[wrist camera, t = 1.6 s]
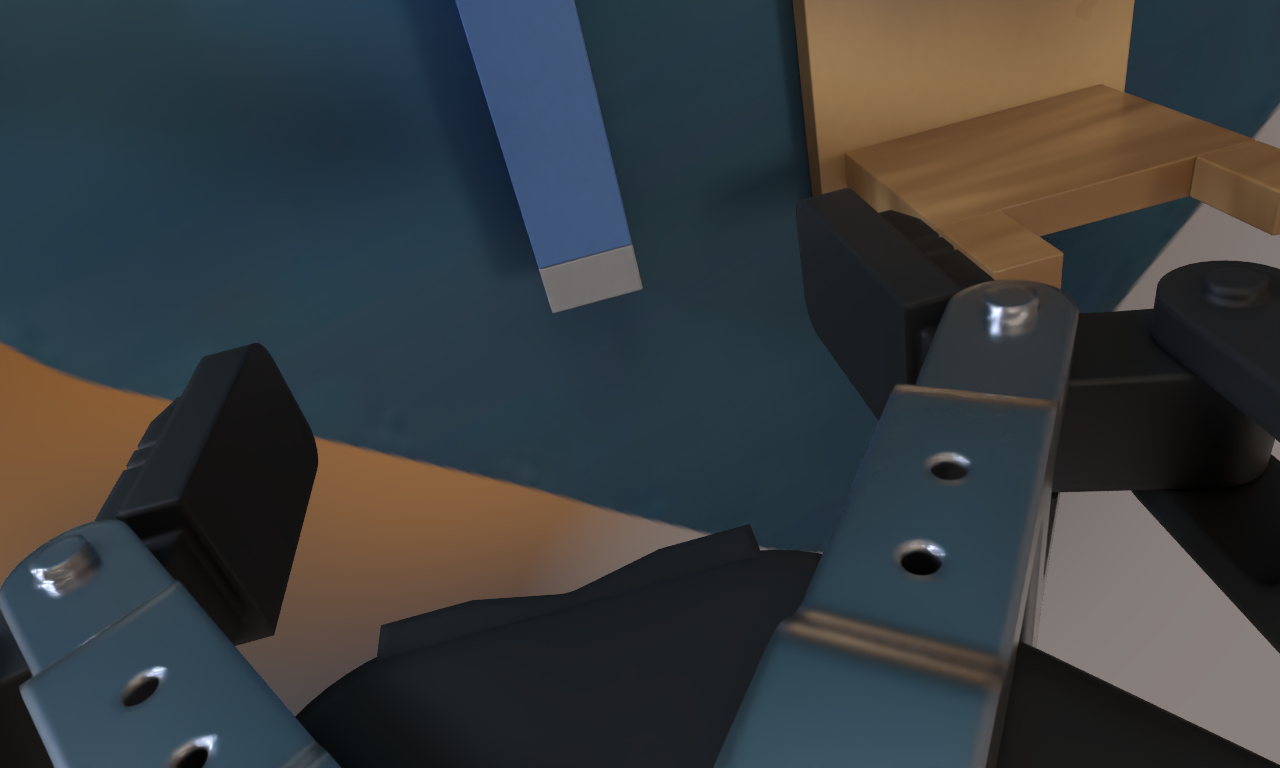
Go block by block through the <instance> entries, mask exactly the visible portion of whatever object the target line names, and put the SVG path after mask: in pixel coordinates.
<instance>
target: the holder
mask: <svg viewBox="0 0 1280 768" xmlns="http://www.w3.org/2000/svg"><path fill="white" fill-rule="evenodd" d="M1134 1H1135V0H793V10H794V20H795V30H796V40H797V50H798V60H799V70H800V80H801V90H802V100H803V110H804V119H805V129H806V139H807V149H808V159H809V169H810V179H811V189H812V197H813V196H817V195H821V194H825V193H828V192H832V191H836V190H840V189H843V188H847V187H848V188H851V189H852V190H853V191H854V192H855V193H857V194H858V195H859V196H860V197H861V198H862V199H863V200H864V201H866V202H867V203H868V204H869V205H870V206H871V207H872V208H873V209H875V210H876V211H877V212H878V213H880V212H883V211H887V210H894V211H897V212H900V213H903V214H906V215H909V216H913V217H916V218H919V219H921V220H922V221H923V222H925V223H926V224H927V225H928V226H930V227H931V228H932V229H933V230H934V231H936V232H937V233H938V234H939V237H943V238H944V239H945V240H947V241H948V242H949V243H950V244H952V245H953V246H954V250H956V249H958V250H959V251H960V252H961V253H963V254H964V255H965V256H966V257H968V258H969V259H970V260H971V261H972V262H974V263H975V264H976V265H977V266H979V267H980V268H981V269H982V270H983V271H985V272H986V273H987V274H988V275H990V276H991V277H992V278H993V279H994V280H1007V279H1018V280H1030V281H1036V282H1041V283H1045V284H1048V285H1052V286H1054V287H1057V288H1059V289H1061V278H1062V265H1063V252H1061V251H1060V250H1058V249H1057V248H1055V247H1054V246H1052V245H1051V244H1049V243H1048V242H1046V241H1045V240H1043V239H1042V238H1040V236H1044V235H1047V234H1051V233H1055V232H1058V231H1062V230H1066V229H1069V228H1073V227H1077V226H1080V225H1084V224H1088V223H1091V222H1095V221H1099V220H1102V219H1106V218H1110V217H1113V216H1117V215H1121V214H1124V213H1128V212H1132V211H1135V210H1139V209H1143V208H1146V207H1150V206H1154V205H1157V204H1161V203H1165V202H1169V201H1172V200H1176V199H1180V198H1183V197H1187V196H1191V197H1192V198H1194V199H1197V200H1199V201H1201V202H1203V203H1205V204H1208V205H1210V206H1211V207H1214V208H1216V209H1218V210H1220V211H1222V212H1224V213H1226V214H1228V215H1231V216H1233V217H1235V218H1237V219H1239V220H1241V221H1243V222H1245V223H1248V224H1250V225H1252V226H1254V227H1256V228H1258V229H1260V230H1262V231H1264V232H1267V233H1269V234H1271V235H1278V234H1280V149H1279V148H1276V147H1273V146H1270V145H1268V144H1265V143H1262V142H1259V141H1256V140H1255V139H1253V138H1250V137H1247V136H1244V135H1242V134H1239V133H1236V132H1233V131H1230V130H1228V129H1225V128H1222V127H1219V126H1217V125H1214V124H1211V123H1208V122H1205V121H1203V120H1200V119H1197V118H1194V117H1192V116H1189V115H1186V114H1183V113H1180V112H1178V111H1175V110H1172V109H1169V108H1167V107H1164V106H1161V105H1158V104H1155V103H1153V102H1150V101H1147V100H1144V99H1142V98H1139V97H1136V96H1133V95H1130V94H1128V93H1125V92H1124V89H1125V81H1126V72H1127V63H1128V54H1129V45H1130V36H1131V28H1132V19H1133V10H1134Z"/></svg>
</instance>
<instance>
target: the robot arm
mask: <svg viewBox="0 0 1280 768" xmlns="http://www.w3.org/2000/svg"><path fill="white" fill-rule="evenodd" d="M796 220H797V230H798V239H799V248H800V258H801V267H802V276H803V286H804V294H805V301H806V306H807V310H808V314H809V317H810V320H811V323H812V325H813V327H814V330H815V331H816V333H817V335H818V336H819V338H820V339H821V341H822V342H823V343H824V345H825V346H826V348H827V349H828V350H829V352H830V353H831V355H832V356H833V357H834V359H835V360H836V362H837V363H838V364H839V366H840V367H841V369H842V370H843V371H844V373H845V374H846V376H847V377H848V378H849V380H850V381H851V383H852V384H853V385H854V387H855V388H856V390H857V391H858V392H859V394H860V395H861V397H862V398H863V399H864V401H865V402H866V404H867V405H868V406H869V408H870V409H871V411H872V412H873V413H874V415H875V416H876V418H877V419H878V420H879V422H878V425H877V427H876V429H875V432H874V434H873V436H872V439H871V441H870V443H869V446H868V448H867V450H866V453H865V455H864V458H863V460H862V462H861V465H860V467H859V469H858V472H857V474H856V476H855V479H854V481H853V483H852V486H851V488H850V490H849V493H848V495H847V498H846V500H845V502H844V505H843V507H842V509H841V512H840V514H839V516H838V519H837V521H836V523H835V526H834V528H833V531H832V533H831V535H830V538H829V540H828V542H827V545H826V547H825V549H824V552H823V554H819V553H812V552H804V551H797V550H762V551H760V549H759V546H758V544H757V541H756V539H755V537H754V534H753V532H752V529H751V527H750V524H749V525H745V526H741V527H738V528H734V529H730V530H727V531H723V532H719V533H716V534H712V535H708V536H705V537H701V538H698V539H694V540H690V541H687V542H683V543H680V544H676V545H672V546H668V547H665V548H662V549H658V550H656V551H655V552H652V553H650V554H648V555H646V556H644V557H642V558H640V559H638V560H637V561H634V562H632V563H630V564H628V565H626V566H624V567H622V568H620V569H618V570H616V571H614V572H612V573H610V574H608V575H606V576H604V577H602V578H600V579H598V580H596V581H593V582H591V583H589V584H587V585H585V586H583V587H581V588H579V589H577V590H575V591H572V592H569V593H565V594H557V595H543V596H528V597H514V598H499V599H484V600H472V601H468V602H465V603H461V604H458V605H453V606H450V607H446V608H443V609H439V610H435V611H432V612H428V613H424V614H421V615H417V616H413V617H410V618H406V619H403V620H399V621H395V622H392V623H388V624H385V625H381V629H380V637H379V645H378V653H377V657H376V658H374V659H372V660H370V661H368V662H366V663H364V664H363V665H361V666H359V667H358V668H356V669H355V670H353V671H351V672H350V673H348V674H346V675H345V676H344V677H342V678H341V679H339V680H338V681H336V682H335V683H334V684H332V685H331V686H330V687H328V688H327V689H326V690H324V691H323V692H322V693H321V694H320V695H318V696H317V697H316V698H315V699H314V700H312V701H311V702H310V703H309V704H308V705H307V706H306V707H305V708H304V709H303V710H302V711H301V712H299V714H298V715H297V716H294V715H293V714H292V713H291V712H290V711H289V709H288V708H287V707H286V706H285V705H284V704H283V702H282V701H281V700H280V699H279V698H278V696H277V695H276V694H275V693H274V692H273V691H272V689H271V688H270V687H269V686H268V685H267V683H266V682H265V681H264V680H263V679H262V678H261V676H260V675H259V674H258V673H257V672H256V671H255V669H254V668H253V667H252V666H251V665H250V664H249V662H248V661H247V660H246V659H245V658H244V657H243V655H242V654H241V653H240V652H239V651H238V649H237V648H236V647H235V646H236V645H240V644H244V643H247V642H251V641H254V640H258V639H262V638H266V637H269V636H273V635H274V633H275V629H276V625H277V621H278V618H279V614H280V610H281V606H282V602H283V599H284V595H285V591H286V587H287V583H288V579H289V575H290V572H291V568H292V564H293V560H294V556H295V552H296V549H297V545H298V541H299V537H300V533H301V529H302V525H303V522H304V518H305V514H306V509H307V506H308V502H309V499H310V494H311V491H312V487H313V483H314V479H315V475H316V472H317V467H318V453H317V447H316V443H315V439H314V436H313V433H312V431H311V428H310V426H309V424H308V422H307V421H306V419H305V417H304V415H303V413H302V411H301V410H300V408H299V406H298V404H297V402H296V400H295V399H294V397H293V395H292V393H291V391H290V389H289V387H288V386H287V384H286V382H285V380H284V378H283V376H282V375H281V373H280V371H279V369H278V367H277V365H276V363H275V362H274V360H273V358H272V356H271V355H270V353H269V352H268V351H267V350H266V348H265V347H263V346H262V345H261V344H259V343H253V344H250V345H246V346H242V347H238V348H234V349H231V350H227V351H223V352H219V353H215V354H212V355H208V356H205V357H203V358H202V359H201V361H200V363H199V364H198V366H197V368H196V370H195V372H194V374H193V375H192V377H191V379H190V381H189V383H188V385H187V386H186V388H185V390H184V392H183V394H182V395H181V397H179V398H177V399H176V400H174V401H173V402H172V403H171V404H170V405H169V406H168V407H167V408H166V409H165V410H164V411H163V412H162V413H161V414H159V415H158V416H157V417H156V418H155V419H154V420H153V421H152V422H151V423H150V425H149V427H148V429H147V430H146V432H145V434H144V436H143V437H142V439H141V441H140V443H139V444H138V448H139V450H136V451H134V453H133V455H132V456H131V458H130V460H129V462H128V464H127V465H126V466H127V470H124V471H123V472H122V474H121V476H120V477H119V479H118V481H117V483H116V484H115V486H114V488H113V489H112V491H111V493H110V495H109V497H108V498H107V500H106V502H105V503H104V505H103V507H102V509H101V511H100V512H99V514H98V516H97V517H96V519H95V521H94V522H90V523H87V524H84V525H81V526H78V527H76V528H73V529H71V530H69V531H66V532H64V533H62V534H60V535H59V536H57V537H55V538H53V539H51V540H50V541H48V542H47V543H45V544H43V545H42V546H40V547H39V548H38V549H36V550H35V551H34V552H32V553H31V554H30V555H28V556H27V557H26V558H25V559H24V560H23V561H21V562H20V563H19V564H18V565H17V566H16V568H15V569H14V570H13V571H12V572H11V573H10V574H9V576H8V577H7V578H6V580H5V582H4V583H3V585H2V586H1V588H0V768H1280V765H1279V764H1276V763H1275V762H1273V761H1270V760H1268V759H1266V758H1264V757H1262V756H1260V755H1258V754H1256V753H1253V752H1252V751H1250V750H1247V749H1245V748H1243V747H1241V746H1239V745H1237V744H1235V743H1233V742H1231V741H1229V740H1226V739H1224V738H1222V737H1220V736H1218V735H1216V734H1214V733H1212V732H1210V731H1208V730H1206V729H1204V728H1202V727H1199V726H1197V725H1195V724H1193V723H1191V722H1189V721H1187V720H1185V719H1183V718H1181V717H1179V716H1177V715H1174V714H1172V713H1170V712H1168V711H1166V710H1164V709H1161V708H1160V707H1158V706H1156V705H1154V704H1151V703H1149V702H1147V701H1145V700H1143V699H1141V698H1139V697H1137V696H1135V695H1132V694H1131V693H1129V692H1126V691H1124V690H1122V689H1120V688H1118V687H1116V686H1114V685H1112V684H1110V683H1108V682H1106V681H1103V680H1101V679H1099V678H1097V677H1095V676H1093V675H1091V674H1089V673H1087V672H1085V671H1083V670H1080V669H1078V668H1076V667H1074V666H1072V665H1070V664H1068V663H1066V662H1064V661H1062V660H1060V659H1058V658H1056V657H1054V656H1051V655H1049V654H1047V653H1045V652H1043V651H1041V650H1039V649H1037V648H1036V646H1037V638H1038V629H1039V622H1040V615H1041V608H1042V601H1043V595H1044V589H1045V583H1046V577H1047V571H1048V565H1049V559H1050V553H1051V547H1052V541H1053V535H1054V529H1055V523H1056V517H1057V511H1058V504H1059V498H1060V492H1082V491H1083V492H1084V491H1120V490H1121V491H1122V490H1131V491H1132V492H1133V494H1134V495H1135V496H1136V497H1137V499H1138V500H1139V501H1140V502H1141V503H1142V504H1143V505H1144V506H1145V507H1146V508H1147V509H1148V511H1149V512H1150V513H1151V514H1152V515H1153V516H1154V517H1155V518H1156V519H1157V520H1158V521H1159V523H1160V524H1161V525H1162V526H1163V527H1164V528H1165V529H1166V530H1167V531H1168V532H1169V533H1170V535H1171V536H1172V537H1173V538H1174V539H1175V540H1176V541H1177V542H1178V543H1179V544H1180V545H1181V547H1182V548H1183V549H1184V550H1185V551H1186V552H1187V553H1188V554H1189V555H1190V556H1191V557H1192V559H1193V560H1194V561H1195V562H1196V563H1197V564H1198V565H1199V566H1200V567H1201V568H1202V569H1203V571H1204V572H1205V573H1206V574H1207V575H1208V576H1209V577H1210V578H1211V579H1212V580H1213V581H1214V583H1215V584H1216V585H1217V586H1218V587H1219V588H1220V589H1221V590H1222V591H1223V592H1224V593H1225V594H1226V596H1227V597H1229V599H1230V600H1231V601H1232V602H1233V603H1234V604H1235V605H1236V606H1237V608H1238V609H1239V610H1240V611H1241V612H1242V613H1243V614H1244V615H1245V616H1246V617H1247V618H1248V620H1249V621H1250V622H1251V623H1252V624H1253V625H1254V626H1255V627H1256V628H1257V629H1258V631H1260V633H1261V634H1262V635H1263V636H1264V637H1265V638H1266V639H1267V640H1268V641H1269V642H1270V643H1271V645H1272V646H1273V647H1274V648H1275V649H1276V650H1277V651H1278V652H1279V653H1280V461H1279V460H1278V459H1276V458H1275V457H1274V456H1273V455H1271V452H1272V448H1273V444H1274V441H1275V439H1276V440H1278V441H1279V442H1280V269H1278V268H1274V267H1270V266H1266V265H1262V264H1257V263H1250V262H1242V261H1208V262H1199V263H1194V264H1189V265H1186V266H1183V267H1179V268H1177V269H1174V270H1172V271H1171V272H1169V273H1167V274H1166V275H1164V276H1163V277H1162V278H1161V279H1160V281H1159V283H1158V285H1157V291H1156V297H1155V303H1154V309H1145V310H1131V311H1117V312H1104V313H1079V308H1078V305H1077V303H1076V301H1075V300H1074V299H1073V297H1071V296H1070V295H1069V294H1068V293H1066V292H1065V291H1063V290H1061V289H1059V288H1057V287H1054V286H1052V285H1048V284H1045V283H1041V282H1036V281H1030V280H1018V279H1007V280H994V279H993V278H992V277H991V276H990V275H988V274H987V273H986V272H985V271H983V270H982V269H981V268H980V267H979V266H977V265H976V264H975V263H974V262H972V261H971V260H970V259H969V258H968V257H966V256H965V255H964V254H963V253H961V252H960V251H959V250H958V249H956V250H954V246H953V245H952V244H950V243H949V242H948V241H947V240H945V239H944V238H943V237H939V234H938V233H937V232H936V231H934V230H933V229H932V228H931V227H930V226H928V225H927V224H926V223H925V222H923V221H922V220H921V219H919V218H916V217H913V216H909V215H906V214H903V213H900V212H897V211H894V210H887V211H883V212H880V213H878V212H877V211H876V210H875V209H873V208H872V207H871V206H870V205H869V204H868V203H867V202H866V201H864V200H863V199H862V198H861V197H860V196H859V195H858V194H857V193H855V192H854V191H853V190H852V189H851V188H848V187H847V188H843V189H840V190H836V191H832V192H828V193H825V194H821V195H817V196H813V197H809V198H806V199H802V200H799V201H798V203H797V207H796Z"/></svg>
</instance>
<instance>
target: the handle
mask: <svg viewBox="0 0 1280 768" xmlns="http://www.w3.org/2000/svg"><path fill="white" fill-rule="evenodd" d="M455 1H456V4H457V7H458V11H459V14H460V17H461V20H462V23H463V27H464V30H465V33H466V36H467V39H468V43H469V46H470V49H471V52H472V56H473V59H474V62H475V65H476V68H477V72H478V75H479V78H480V81H481V84H482V88H483V91H484V94H485V97H486V101H487V104H488V107H489V110H490V113H491V117H492V120H493V123H494V126H495V130H496V133H497V136H498V139H499V142H500V146H501V149H502V152H503V155H504V158H505V162H506V165H507V168H508V171H509V175H510V178H511V181H512V184H513V187H514V191H515V194H516V197H517V200H518V203H519V207H520V210H521V213H522V216H523V220H524V223H525V226H526V229H527V232H528V236H529V239H530V242H531V245H532V249H533V252H534V255H535V258H536V261H537V265H538V267H539V271H540V274H541V277H542V281H543V284H544V287H545V290H546V294H547V297H548V300H549V303H550V306H551V310H552V312H553V313H556V312H560V311H564V310H567V309H571V308H575V307H578V306H582V305H586V304H589V303H593V302H597V301H601V300H604V299H608V298H612V297H615V296H619V295H623V294H626V293H630V292H634V291H637V290H641V289H642V288H643V287H642V282H641V278H640V274H639V270H638V265H637V261H636V257H635V253H634V249H633V245H632V240H631V236H630V232H629V227H628V223H627V219H626V215H625V211H624V206H623V202H622V198H621V194H620V189H619V185H618V181H617V177H616V172H615V168H614V164H613V160H612V156H611V151H610V147H609V143H608V139H607V134H606V130H605V126H604V122H603V117H602V113H601V109H600V105H599V101H598V96H597V92H596V88H595V84H594V79H593V75H592V71H591V67H590V62H589V58H588V54H587V50H586V46H585V41H584V37H583V33H582V29H581V24H580V20H579V16H578V12H577V7H576V3H575V0H455Z"/></svg>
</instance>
